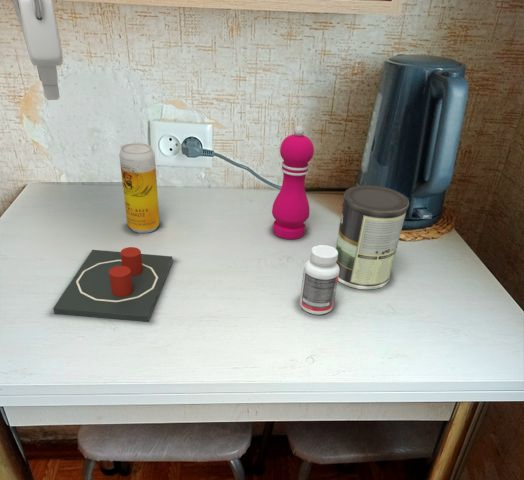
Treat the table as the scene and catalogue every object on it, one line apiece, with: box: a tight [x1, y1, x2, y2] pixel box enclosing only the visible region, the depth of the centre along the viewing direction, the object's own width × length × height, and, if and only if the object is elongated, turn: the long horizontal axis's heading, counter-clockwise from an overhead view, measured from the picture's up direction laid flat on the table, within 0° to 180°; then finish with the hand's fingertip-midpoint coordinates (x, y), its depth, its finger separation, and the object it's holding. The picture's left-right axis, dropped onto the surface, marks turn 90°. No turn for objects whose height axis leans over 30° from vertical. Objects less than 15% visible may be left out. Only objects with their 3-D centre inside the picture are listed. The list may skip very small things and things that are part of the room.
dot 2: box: [109, 266, 133, 297], centre depth 78 cm, size 3×3×4 cm
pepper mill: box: [271, 125, 315, 240], centre depth 94 cm, size 7×7×20 cm
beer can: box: [118, 142, 161, 234], centre depth 94 cm, size 6×6×15 cm
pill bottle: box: [299, 244, 340, 315], centre depth 78 cm, size 5×5×10 cm
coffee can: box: [335, 184, 410, 291], centre depth 85 cm, size 10×10×14 cm
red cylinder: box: [119, 246, 143, 276], centre depth 83 cm, size 3×3×4 cm
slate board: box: [52, 249, 174, 323], centre depth 82 cm, size 14×18×1 cm
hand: (49, 89), depth 70 cm, fingers open, 8 cm apart
